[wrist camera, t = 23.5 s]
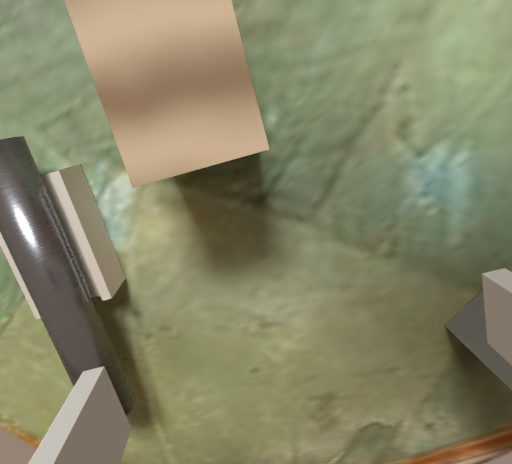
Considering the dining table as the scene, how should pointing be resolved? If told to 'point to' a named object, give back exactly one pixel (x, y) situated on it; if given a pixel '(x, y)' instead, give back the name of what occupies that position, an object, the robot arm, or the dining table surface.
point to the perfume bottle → (479, 338)
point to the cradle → (79, 234)
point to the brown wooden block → (170, 83)
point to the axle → (53, 271)
